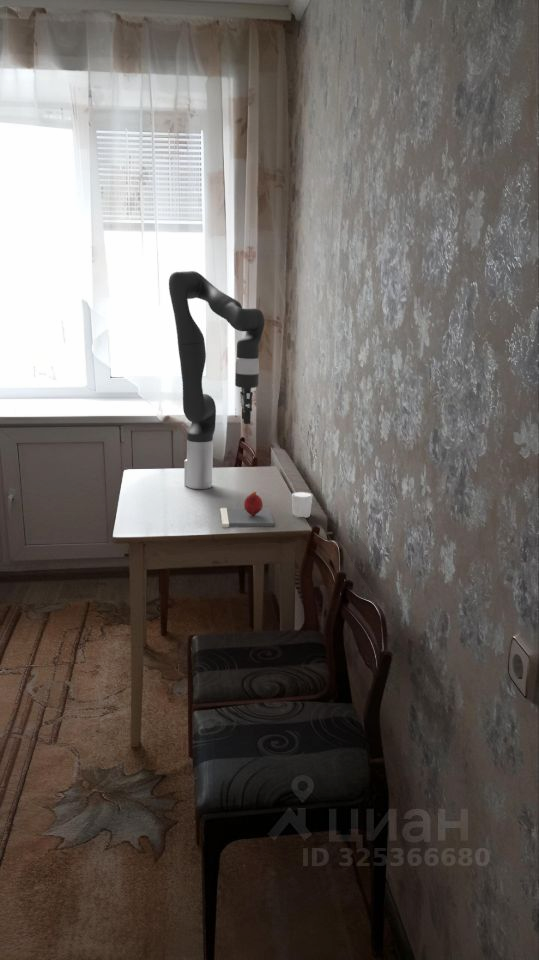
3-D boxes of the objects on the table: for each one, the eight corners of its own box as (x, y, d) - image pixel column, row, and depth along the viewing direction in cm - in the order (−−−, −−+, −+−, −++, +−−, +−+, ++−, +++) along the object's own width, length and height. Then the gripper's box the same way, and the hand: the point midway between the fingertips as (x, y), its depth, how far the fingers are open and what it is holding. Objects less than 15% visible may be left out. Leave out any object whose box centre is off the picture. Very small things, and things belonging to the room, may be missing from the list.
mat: (222, 527, 228) (222, 523, 228) (220, 511, 244) (220, 507, 243) (274, 527, 230) (274, 523, 230) (269, 511, 245) (269, 507, 245)
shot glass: (289, 511, 246) (290, 491, 244) (310, 511, 246) (311, 491, 244) (292, 518, 239) (292, 497, 237) (313, 518, 240) (314, 497, 238)
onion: (259, 519, 233) (260, 495, 231) (241, 517, 235) (242, 493, 233) (263, 514, 239) (265, 490, 237) (246, 512, 240) (247, 488, 238)
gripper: (260, 375, 235) (259, 425, 239) (256, 369, 248) (255, 417, 253) (236, 374, 234) (235, 425, 238) (234, 368, 248) (233, 417, 252)
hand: (245, 421), depth 246 cm, fingers open, 8 cm apart
